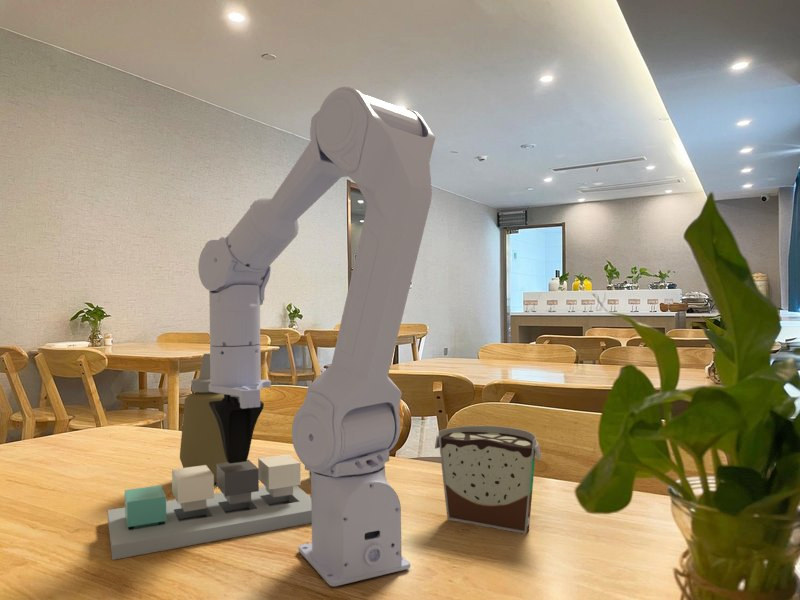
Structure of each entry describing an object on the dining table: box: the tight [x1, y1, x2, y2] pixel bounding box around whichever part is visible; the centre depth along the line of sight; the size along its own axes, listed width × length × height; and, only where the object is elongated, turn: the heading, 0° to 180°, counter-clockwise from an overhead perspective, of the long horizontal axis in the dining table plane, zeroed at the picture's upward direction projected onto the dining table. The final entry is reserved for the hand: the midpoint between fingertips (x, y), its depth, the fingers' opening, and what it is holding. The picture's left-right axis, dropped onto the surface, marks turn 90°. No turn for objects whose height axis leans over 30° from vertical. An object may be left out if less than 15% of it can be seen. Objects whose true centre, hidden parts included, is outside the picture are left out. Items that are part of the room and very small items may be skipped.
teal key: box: [124, 484, 167, 530], centre depth 67 cm, size 5×4×4 cm
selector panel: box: [107, 485, 312, 561], centre depth 70 cm, size 12×22×1 cm, turn 117°
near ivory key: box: [257, 453, 302, 497], centre depth 74 cm, size 5×4×4 cm
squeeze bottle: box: [179, 352, 227, 484], centre depth 87 cm, size 8×8×18 cm
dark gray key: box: [216, 459, 260, 504], centre depth 71 cm, size 5×4×4 cm
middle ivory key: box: [171, 465, 215, 512], centre depth 69 cm, size 5×4×4 cm
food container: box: [434, 425, 542, 535], centre depth 70 cm, size 12×6×10 cm, turn 59°
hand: (236, 461), depth 71 cm, fingers closed
